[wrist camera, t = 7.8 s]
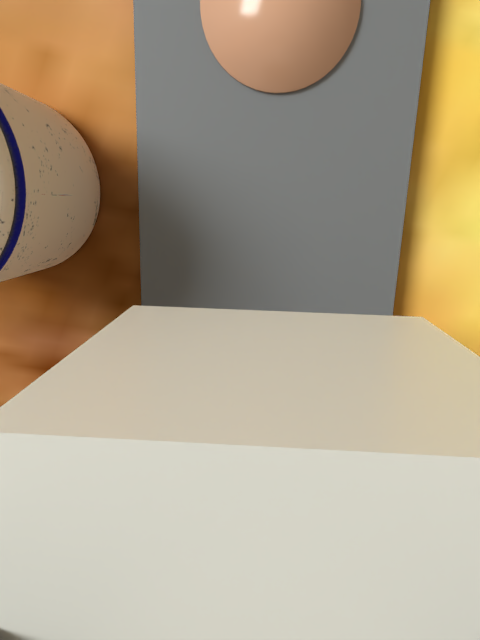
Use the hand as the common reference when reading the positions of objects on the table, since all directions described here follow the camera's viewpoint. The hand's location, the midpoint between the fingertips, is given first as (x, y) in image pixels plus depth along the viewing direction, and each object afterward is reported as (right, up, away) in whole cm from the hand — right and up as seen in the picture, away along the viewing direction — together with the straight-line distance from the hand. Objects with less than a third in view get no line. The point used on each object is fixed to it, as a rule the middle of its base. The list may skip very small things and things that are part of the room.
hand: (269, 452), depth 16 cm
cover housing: (0, 0, +1) cm, 1 cm away
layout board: (0, +11, +7) cm, 13 cm away
